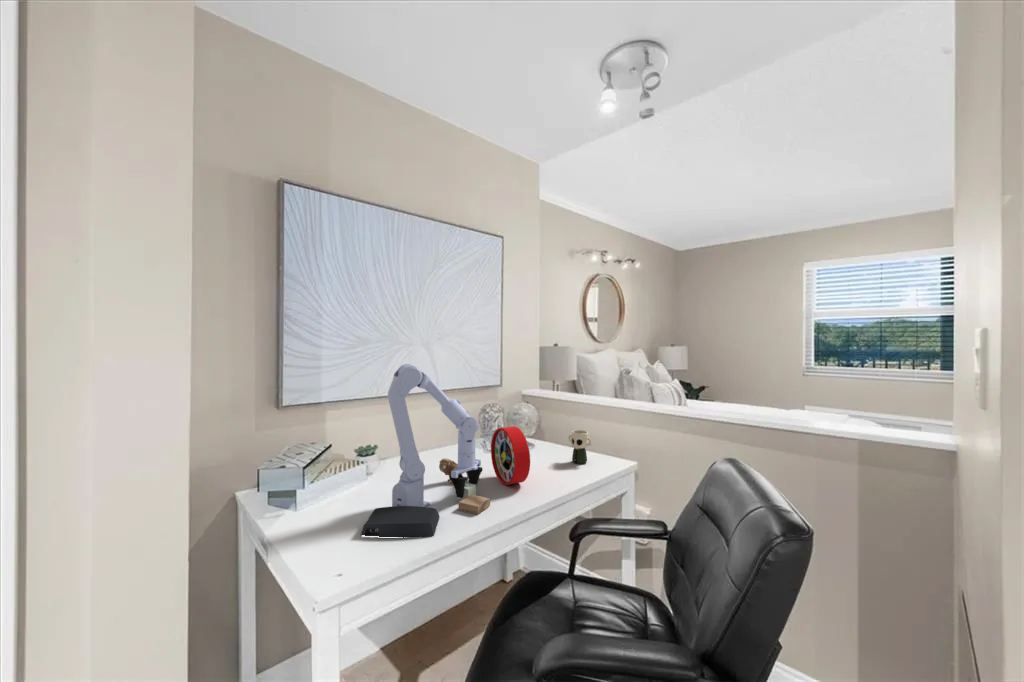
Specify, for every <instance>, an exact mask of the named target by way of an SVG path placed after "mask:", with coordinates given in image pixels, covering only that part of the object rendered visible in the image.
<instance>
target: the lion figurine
mask: <svg viewBox="0 0 1024 682" xmlns="http://www.w3.org/2000/svg"><path fill="white" fill-rule="evenodd" d="M457 465H458V463H456V462H455V461H454V460H451V459H450V458H446V457H445V458H442V459H440V460H439V465H438V467H439V470H440V472H441V473H444V475H445V476H448V478H449V479H447V482H448V481H449V484H451V485H453V484H452V481H451V480H450V475H451V471H453V470H454V469H455V468H456V466H457ZM465 474H466V477H467V480H468V481H469V478H468V473H467V472H465ZM467 480H466V481H467Z"/></svg>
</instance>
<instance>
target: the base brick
mask: <svg viewBox="0 0 1024 682" xmlns="http://www.w3.org/2000/svg"><path fill="white" fill-rule="evenodd" d="M489 506H490V507H491V498H489V497H485V496H481V495H477V494H476V495H472V494H471V495H469V496H468V497H466V498H465V499H463V500H461V499H460V501H458V511H460V512H464V511H465V512H464V513H468V512H469V513H468V514H472V513H473V514H472V515H476V514H477V516H479V515H481V512H482V513H483V512H484V511H486V510H487V509H488V507H489ZM490 507H489V508H490ZM486 508H487V509H486ZM485 509H486V510H485ZM478 514H479V515H478Z"/></svg>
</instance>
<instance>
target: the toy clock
mask: <svg viewBox="0 0 1024 682" xmlns="http://www.w3.org/2000/svg"><path fill="white" fill-rule="evenodd" d="M490 454H491V455H490V457H491V463H492V468H493V470H494V473H495V475H496V477H497V479H498V481H499V482H500V483H501V484H502V485H504V486H510V485H515V484H520V483H524V482H525V481H526V480H527V479H528V476H529V473H530V469H531V453H530V447H529V443H528V440H527V438H526V436H525V433H524V432H523V431H522V429H521V428H520V427H519V426H514V425H513V426H506V427H505V426H504V427H498V428H496V430H495V431H494V432H493V435H492V437H491V444H490Z"/></svg>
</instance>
